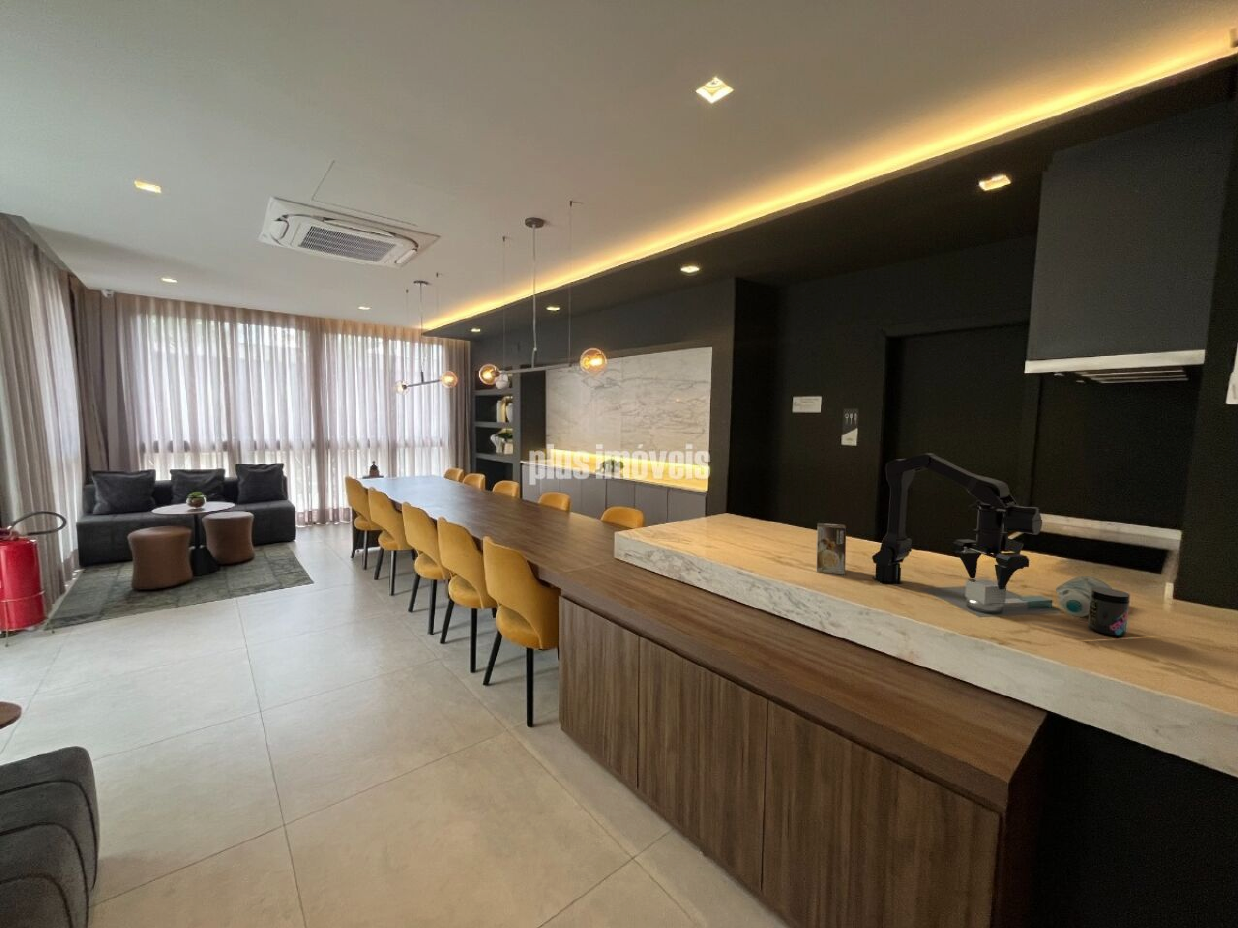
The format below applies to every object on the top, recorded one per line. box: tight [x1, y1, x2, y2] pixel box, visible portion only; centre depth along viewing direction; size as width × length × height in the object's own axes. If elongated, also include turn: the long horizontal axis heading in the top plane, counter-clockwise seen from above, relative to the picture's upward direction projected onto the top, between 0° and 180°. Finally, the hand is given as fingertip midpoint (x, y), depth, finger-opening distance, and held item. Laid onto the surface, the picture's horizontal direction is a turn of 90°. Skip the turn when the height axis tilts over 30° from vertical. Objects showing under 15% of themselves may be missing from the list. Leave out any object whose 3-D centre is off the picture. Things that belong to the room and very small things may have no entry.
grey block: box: [965, 577, 1007, 605], centre depth 134 cm, size 6×6×5 cm
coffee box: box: [816, 522, 847, 575], centre depth 169 cm, size 9×6×16 cm
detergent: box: [1055, 576, 1113, 618], centre depth 135 cm, size 13×7×25 cm
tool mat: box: [919, 585, 1064, 618], centre depth 141 cm, size 25×22×1 cm
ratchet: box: [966, 595, 1054, 614], centre depth 135 cm, size 23×8×6 cm, turn 97°
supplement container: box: [1087, 587, 1131, 639], centre depth 119 cm, size 7×7×10 cm
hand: (986, 583), depth 134 cm, fingers open, 9 cm apart
